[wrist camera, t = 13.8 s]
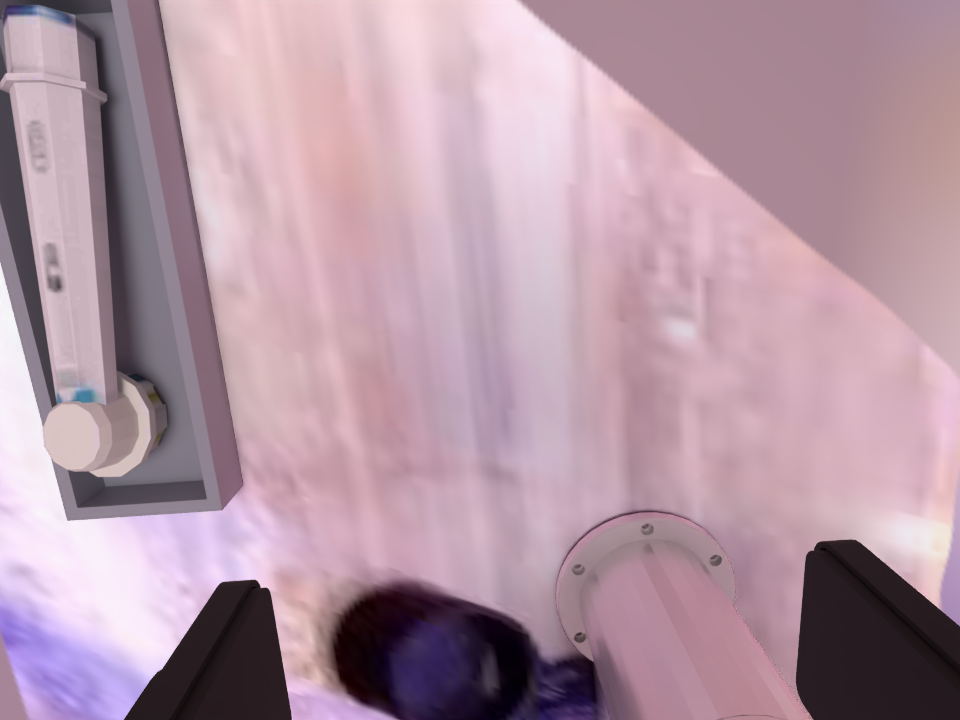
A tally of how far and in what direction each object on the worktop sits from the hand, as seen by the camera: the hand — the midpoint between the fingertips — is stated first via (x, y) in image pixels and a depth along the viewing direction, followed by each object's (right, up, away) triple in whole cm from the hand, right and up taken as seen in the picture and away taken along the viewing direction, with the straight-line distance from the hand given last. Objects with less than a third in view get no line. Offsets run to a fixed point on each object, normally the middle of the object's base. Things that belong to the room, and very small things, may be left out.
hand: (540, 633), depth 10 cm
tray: (-23, +10, +26) cm, 36 cm away
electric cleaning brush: (-23, +11, +26) cm, 36 cm away
